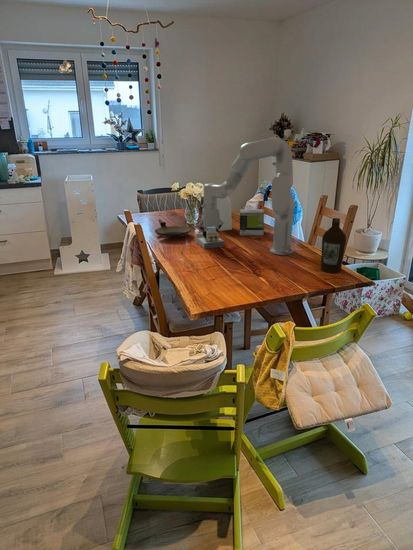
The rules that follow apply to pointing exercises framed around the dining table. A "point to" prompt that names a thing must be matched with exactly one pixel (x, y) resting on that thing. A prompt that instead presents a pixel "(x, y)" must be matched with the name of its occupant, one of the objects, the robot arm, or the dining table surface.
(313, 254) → the dining table surface
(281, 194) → the robot arm
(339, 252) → the olive oil
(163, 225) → the oil lamp
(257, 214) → the tea box
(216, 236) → the pallet
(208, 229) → the tote
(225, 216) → the milk
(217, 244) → the dock
